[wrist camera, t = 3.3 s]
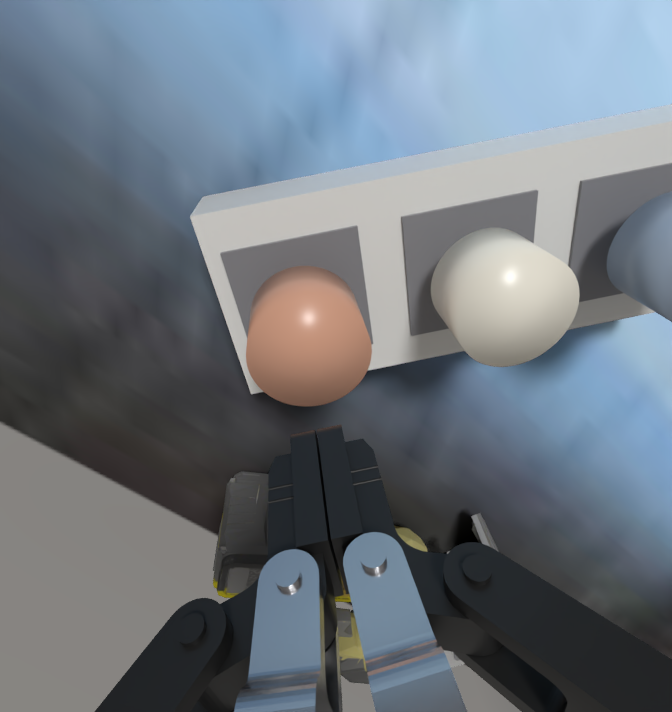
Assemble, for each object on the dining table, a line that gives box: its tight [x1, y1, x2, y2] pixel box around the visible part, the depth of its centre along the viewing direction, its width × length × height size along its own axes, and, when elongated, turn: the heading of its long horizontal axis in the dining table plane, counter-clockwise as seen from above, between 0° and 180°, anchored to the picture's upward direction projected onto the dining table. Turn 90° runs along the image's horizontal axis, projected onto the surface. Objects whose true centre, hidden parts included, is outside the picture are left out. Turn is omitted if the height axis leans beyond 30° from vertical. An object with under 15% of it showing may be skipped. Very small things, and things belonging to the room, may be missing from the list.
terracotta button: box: [246, 266, 372, 406], centre depth 19 cm, size 5×5×4 cm
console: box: [190, 104, 672, 394], centre depth 23 cm, size 25×10×4 cm, turn 99°
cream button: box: [431, 228, 580, 367], centre depth 19 cm, size 5×5×4 cm
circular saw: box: [213, 471, 499, 684], centre depth 35 cm, size 10×30×25 cm
